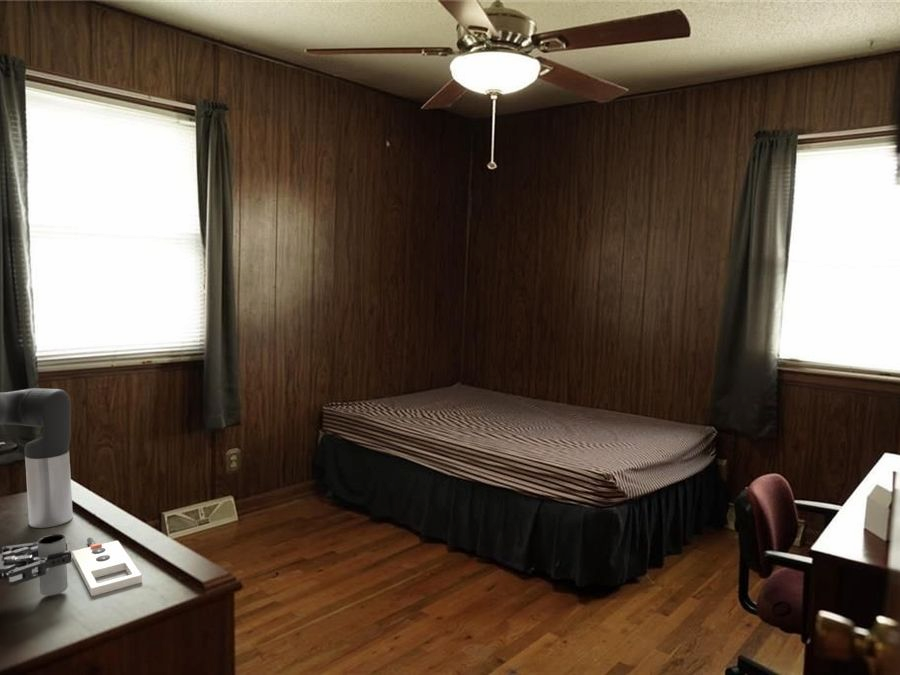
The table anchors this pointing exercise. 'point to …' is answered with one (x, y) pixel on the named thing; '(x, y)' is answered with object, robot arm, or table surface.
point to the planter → (56, 575)
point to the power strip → (105, 566)
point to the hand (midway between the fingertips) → (68, 551)
